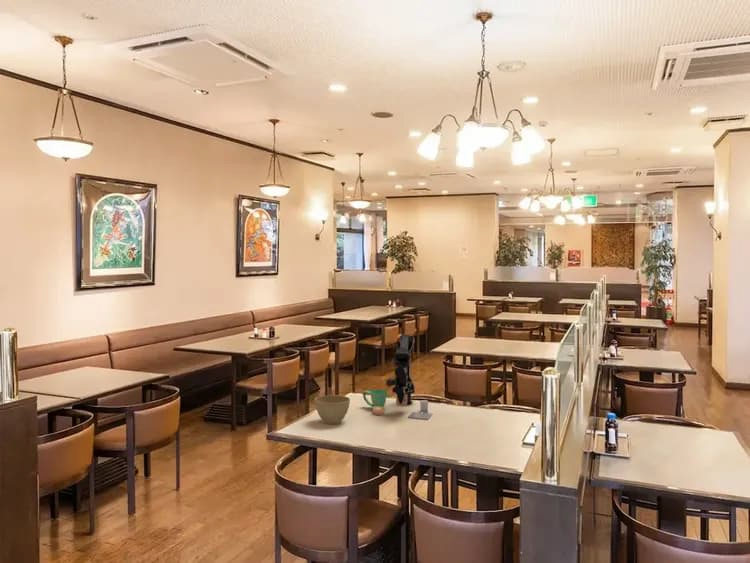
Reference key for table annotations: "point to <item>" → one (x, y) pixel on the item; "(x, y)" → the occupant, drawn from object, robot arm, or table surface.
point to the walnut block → (402, 401)
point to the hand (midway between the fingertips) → (401, 402)
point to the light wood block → (424, 406)
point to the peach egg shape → (378, 410)
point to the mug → (376, 397)
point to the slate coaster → (420, 415)
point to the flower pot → (332, 408)
